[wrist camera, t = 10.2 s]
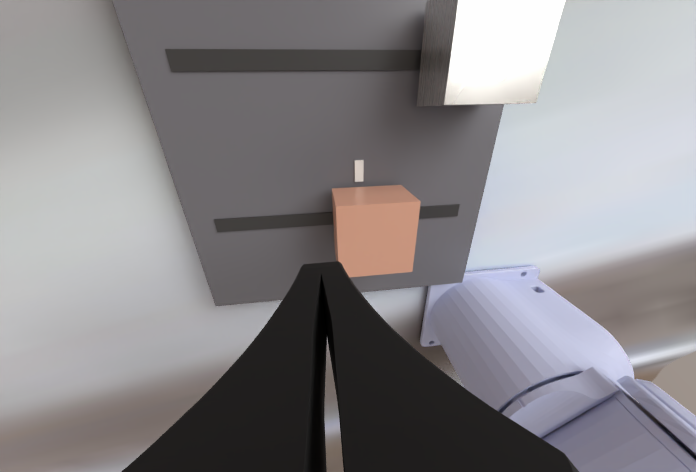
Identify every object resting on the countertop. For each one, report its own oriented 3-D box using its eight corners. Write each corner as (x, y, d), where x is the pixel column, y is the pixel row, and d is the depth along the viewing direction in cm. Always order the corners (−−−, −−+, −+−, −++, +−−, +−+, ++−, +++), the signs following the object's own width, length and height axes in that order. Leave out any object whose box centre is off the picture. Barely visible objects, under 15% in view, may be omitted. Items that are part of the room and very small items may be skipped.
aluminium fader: (511, 4, 11) (573, -30, 8) (490, 105, 13) (535, 103, 10) (426, 2, 11) (463, -34, 8) (416, 106, 12) (443, 104, 10)
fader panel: (527, -94, 11) (559, -124, 10) (452, 271, 20) (463, 283, 19) (93, -124, 9) (54, -166, 8) (223, 292, 18) (215, 307, 17)
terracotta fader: (400, 184, 14) (420, 201, 12) (396, 245, 16) (412, 271, 13) (331, 188, 14) (335, 206, 11) (334, 250, 16) (338, 278, 13)
